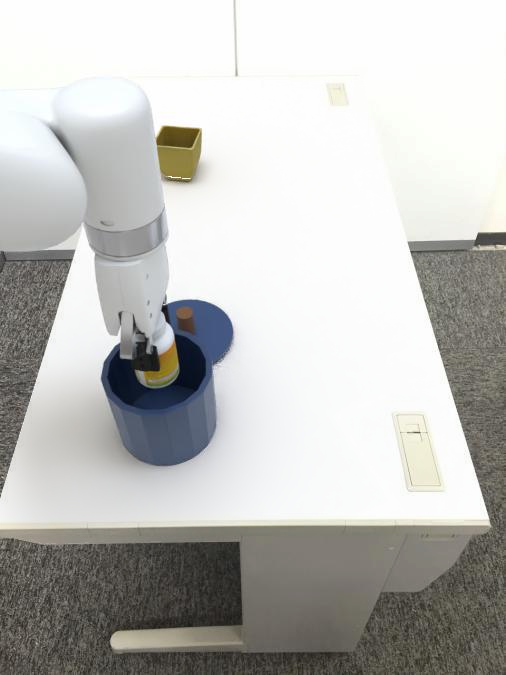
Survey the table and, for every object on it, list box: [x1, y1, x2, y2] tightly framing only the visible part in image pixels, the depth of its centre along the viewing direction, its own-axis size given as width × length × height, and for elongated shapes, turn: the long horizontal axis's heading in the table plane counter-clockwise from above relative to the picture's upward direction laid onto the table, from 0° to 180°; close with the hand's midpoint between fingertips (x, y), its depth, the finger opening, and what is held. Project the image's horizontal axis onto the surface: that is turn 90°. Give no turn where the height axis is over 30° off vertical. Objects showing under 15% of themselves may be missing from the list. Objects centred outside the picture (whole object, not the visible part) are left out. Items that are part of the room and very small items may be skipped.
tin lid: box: [165, 298, 234, 364], centre depth 84 cm, size 15×15×6 cm
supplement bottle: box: [135, 312, 179, 388], centre depth 63 cm, size 5×5×10 cm
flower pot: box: [155, 124, 203, 182], centre depth 113 cm, size 9×9×9 cm
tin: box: [100, 328, 217, 467], centre depth 71 cm, size 14×14×12 cm
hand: (152, 347), depth 63 cm, fingers closed on supplement bottle, 5 cm apart
